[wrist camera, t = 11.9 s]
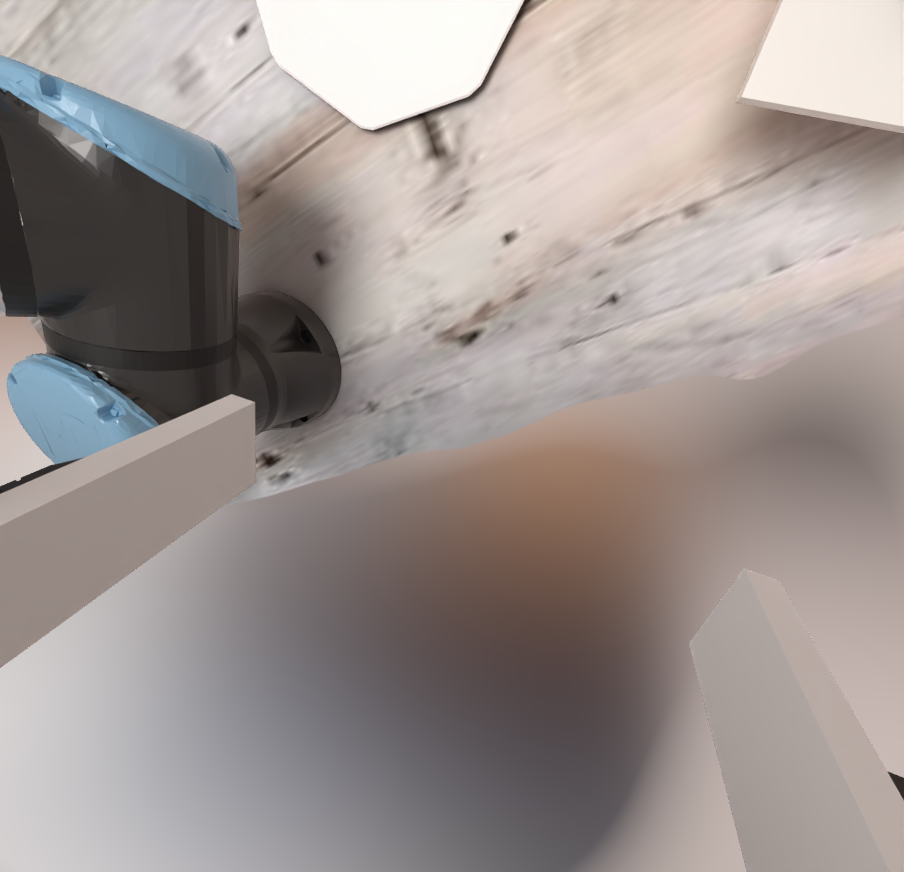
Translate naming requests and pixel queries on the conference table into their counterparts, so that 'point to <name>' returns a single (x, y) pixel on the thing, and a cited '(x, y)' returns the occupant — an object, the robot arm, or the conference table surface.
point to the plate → (387, 51)
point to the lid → (832, 62)
